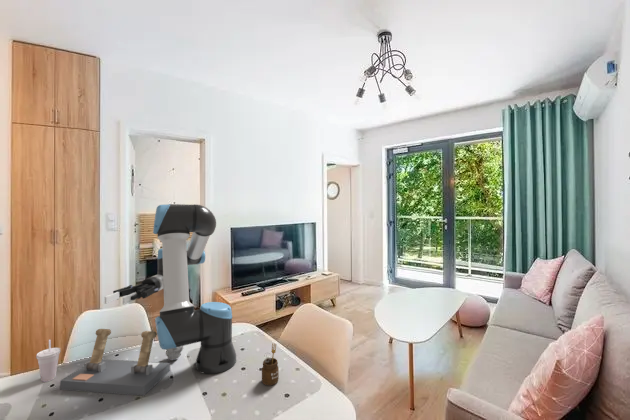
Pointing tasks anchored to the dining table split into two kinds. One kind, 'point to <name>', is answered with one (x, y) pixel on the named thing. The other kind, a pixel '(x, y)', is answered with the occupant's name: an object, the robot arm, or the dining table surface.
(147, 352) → the lever
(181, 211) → the robot arm
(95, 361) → the lever
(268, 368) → the utensil holder
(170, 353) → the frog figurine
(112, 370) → the switch unit
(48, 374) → the smoothie
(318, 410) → the dining table surface
